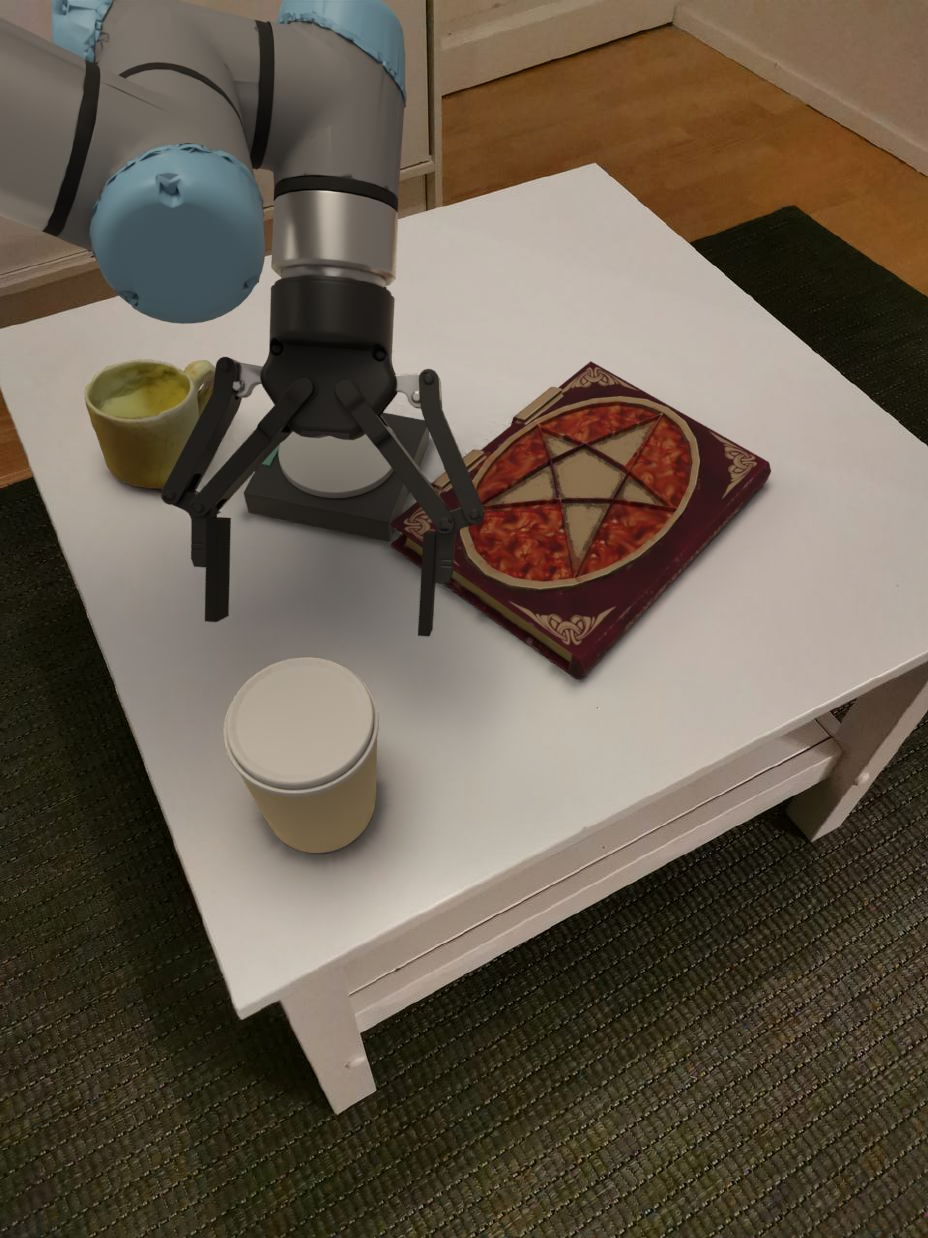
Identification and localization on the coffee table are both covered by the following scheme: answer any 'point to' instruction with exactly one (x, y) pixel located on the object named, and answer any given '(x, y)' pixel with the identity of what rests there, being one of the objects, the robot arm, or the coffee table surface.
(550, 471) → the book
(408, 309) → the coffee table surface
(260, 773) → the coffee cup
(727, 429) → the coffee table surface
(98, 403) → the mug
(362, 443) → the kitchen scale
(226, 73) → the robot arm
